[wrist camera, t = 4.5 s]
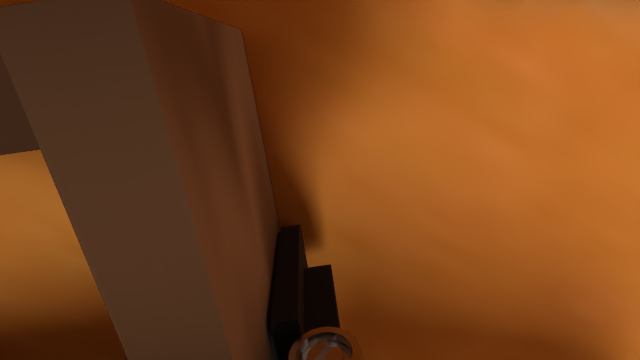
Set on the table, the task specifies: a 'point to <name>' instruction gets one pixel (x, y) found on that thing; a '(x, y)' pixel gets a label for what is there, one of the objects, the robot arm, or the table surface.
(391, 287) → the table surface
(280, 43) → the table surface
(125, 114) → the frame
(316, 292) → the robot arm
